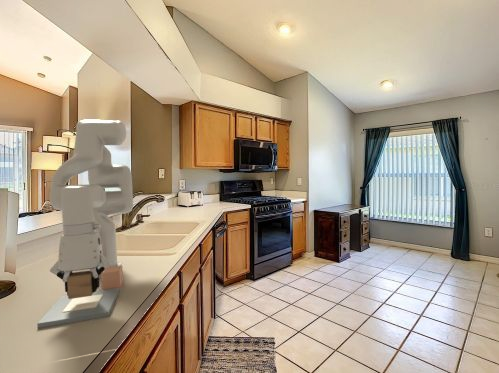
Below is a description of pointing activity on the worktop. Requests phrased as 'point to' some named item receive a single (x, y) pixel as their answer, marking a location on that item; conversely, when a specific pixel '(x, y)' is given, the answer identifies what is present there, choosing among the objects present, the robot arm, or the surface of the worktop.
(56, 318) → the baseplate
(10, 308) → the worktop surface
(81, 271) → the walnut block
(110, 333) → the worktop surface
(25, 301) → the worktop surface
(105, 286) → the terracotta block
